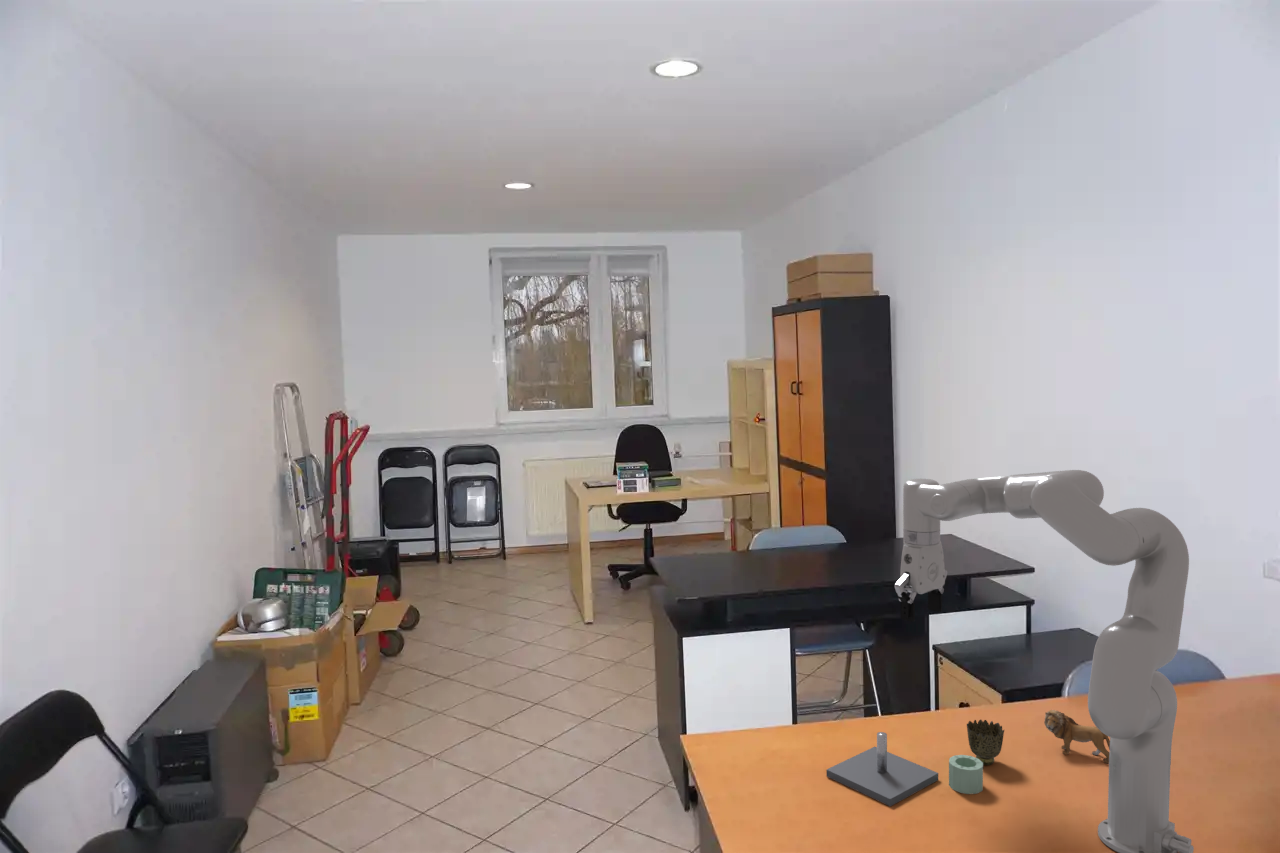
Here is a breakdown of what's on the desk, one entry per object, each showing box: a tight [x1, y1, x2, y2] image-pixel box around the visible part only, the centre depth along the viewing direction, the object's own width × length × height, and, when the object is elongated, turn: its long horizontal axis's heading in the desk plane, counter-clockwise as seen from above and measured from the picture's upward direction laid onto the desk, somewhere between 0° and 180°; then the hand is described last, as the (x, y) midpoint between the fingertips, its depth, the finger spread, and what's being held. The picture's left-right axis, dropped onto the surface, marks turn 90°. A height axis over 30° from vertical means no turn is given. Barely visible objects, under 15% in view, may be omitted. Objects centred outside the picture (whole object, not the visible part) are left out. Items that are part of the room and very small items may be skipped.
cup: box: [966, 719, 1005, 766], centre depth 192 cm, size 8×7×8 cm
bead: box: [948, 754, 984, 795], centre depth 182 cm, size 6×6×5 cm
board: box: [825, 746, 939, 807], centre depth 186 cm, size 16×16×2 cm
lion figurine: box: [1044, 709, 1110, 764], centre depth 194 cm, size 15×5×9 cm, turn 63°
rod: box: [876, 731, 888, 774], centre depth 186 cm, size 2×2×8 cm
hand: (921, 615), depth 193 cm, fingers open, 9 cm apart
